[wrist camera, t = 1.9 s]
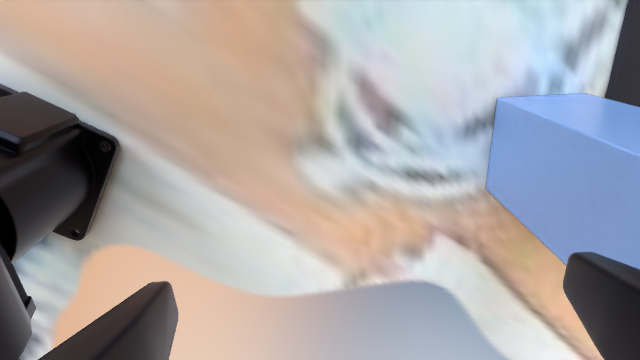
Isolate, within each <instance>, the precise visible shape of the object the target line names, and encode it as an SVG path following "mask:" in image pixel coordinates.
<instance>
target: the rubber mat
mask: <svg viewBox="0 0 640 360" xmlns="http://www.w3.org/2000/svg"><path fill="white" fill-rule="evenodd" d="M606 99H610V100H613V101H617V102H621V103H625V104H629V105H633V106H636V107H640V0H629V1H628V5H627V10H626V14H625V18H624V22H623V27H622V31H621V35H620V39H619V43H618V48H617V52H616V56H615V60H614V65H613V69H612V73H611V77H610V81H609V86H608V90H607V94H606Z"/></svg>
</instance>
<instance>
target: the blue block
mask: <svg viewBox="0 0 640 360" xmlns="http://www.w3.org/2000/svg"><path fill="white" fill-rule="evenodd" d="M486 190H487V191H489V192H490V193H491V194H492V195H493V196H494V197H495V198H496V199H497V200H498V201H499V202H500V203H501V204H502V205H503V206H504V207H505V208H506V209H507V210H508V211H510V212H511V213H512V214H513V215H514V216H515V217H516V218H517V219H518V220H519V221H520V222H521V223H522V224H523V225H524V226H525V227H526V228H527V229H528V230H529V231H530V232H532V233H533V234H534V235H535V236H536V237H537V238H538V239H539V240H540V241H541V242H542V243H543V244H544V245H545V246H546V247H547V248H548V249H549V250H550V251H551V252H553V253H554V254H555V255H556V256H557V257H558V258H559V259H560V260H561V261H562V262H563V263H564V264H565V265H566V266H567V261H568V258H569V256H570V255H571V254H572V253H574V252H588V251H589V252H594V253H597V254H600V255H603V256H605V257H608V258H611V259H613V260H616V261H619V262H621V263H624V264H627V265H630V266H632V267H635V268H638V269H640V107H636V106H633V105H629V104H625V103H621V102H617V101H613V100H610V99H606V98H602V97H598V96H594V95H591V94H587V93H583V94H562V95H542V96H521V97H501V98H498V99H497V106H496V114H495V121H494V129H493V137H492V144H491V152H490V160H489V167H488V175H487V182H486Z"/></svg>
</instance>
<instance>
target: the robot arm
mask: <svg viewBox="0 0 640 360" xmlns="http://www.w3.org/2000/svg"><path fill="white" fill-rule="evenodd" d="M104 142H108V143H109V144H110V146H111V149H108V148H107V147H105V145H104ZM119 146H120V145H119V141H118V140H117V139H116V138H115V137H114V136H112V135H110V134H108V133H106V132H103V131H101V130H99V129H97V128H95V127H93V126H90V125H88V124H86V123H84V122H82V121H80V120H79V119H78V117H77V116H76V115H75V114H72V113H70V112H68V111H66V110H64V109H62V108H59V107H57V106H55V105H53V104H51V103H49V102H47V101H44V100H42V99H40V98H38V97H36V96H34V95H31V94H29V93H27V92H21V93H19V92H17V91H15V90H13V89H10V88H8V87H6V86H4V85H2V84H0V360H21V358H20V356H21V354H22V353H23V351H24V349H25V347H26V345H27V342H28V340H29V338H30V336H31V334H32V330H31V318H32V316H33V314H34V311H35V309H36V306H35V304H34V302H33V300H32V298H31V297H30V296H27V294H26V292H25V290H24V288H23V286H22V284H21V281H20V279H19V277H18V275H17V273H16V271H15V269H14V267H13V263H14V262H15V261H16V260H17V259H19V258H20V257H21V256H22V255H24V254H25V253H26V252H27V251H28V250H30V249H31V248H32V247H33V246H35V245H36V244H37V243H38V242H39V241H41V240H42V239H43V238H44V237H46V236H47V235H48V234H49V233H50V232H55V233H57V234H60V235H62V236H65V237H67V238H70V239H72V240H76V241H77V240H81V239H83V238H84V237H85V236H86V235H87V234H88V232H89V230H90V227H91V224H92V221H93V219H94V216H95V213H96V210H97V208H98V205H99V202H100V200H101V197H102V194H103V191H104V189H105V186H106V183H107V180H108V178H109V175H110V172H111V170H112V167H113V164H114V161H115V159H116V156H117V153H118V150H119ZM75 229H78V230H79V231H80V233H78V232H76V231H75ZM563 288H564V292H565V294H566V296H567V298H568V300H569V301H570V303H571V305H572V306H573V308H574V310H575V312H576V313H577V315H578V317H579V319H580V320H581V322H582V324H583V325H584V327H585V329H586V331H587V332H588V334H589V336H590V337H591V339H592V341H593V343H594V344H595V346H596V348H597V349H598V351H599V352H600V354H601V356H602V357H603V359H604V360H640V269H638V268H635V267H632V266H630V265H627V264H624V263H621V262H619V261H616V260H613V259H611V258H608V257H605V256H603V255H600V254H597V253H594V252H589V251H588V252H574V253H572V254H571V255H570V256H569V258H568V261H567V266H566V271H565V275H564V280H563ZM177 322H178V309H177V305H176V301H175V297H174V293H173V289H172V286H171V284H170V283H169V282H167V281H163V282H152V283H149V284H147V285H146V286H144V287H143V288H141V289H140V290H139V291H137V292H136V293H134V294H133V295H131V296H130V297H128V298H127V299H125V300H124V301H123V302H121V303H120V304H118V305H117V306H115V307H114V308H112V309H111V310H110V311H108V312H107V313H105V314H104V315H102V316H101V317H99V318H98V319H96V320H95V321H94V322H92V323H91V324H89V325H88V326H86V327H85V328H83V329H82V330H80V331H79V332H77V333H76V334H75V335H73V336H72V337H70V338H69V339H67V340H66V341H64V342H63V343H61V344H60V345H59V346H57V347H56V348H54V349H53V350H51V351H50V352H48V353H47V354H45V355H44V356H43V357H41V358H40V359H38V360H169V356H170V351H171V347H172V343H173V339H174V334H175V331H176V326H177Z"/></svg>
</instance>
